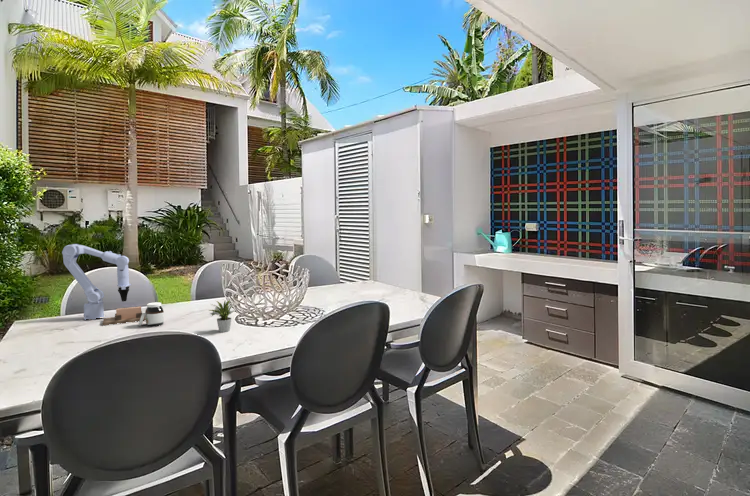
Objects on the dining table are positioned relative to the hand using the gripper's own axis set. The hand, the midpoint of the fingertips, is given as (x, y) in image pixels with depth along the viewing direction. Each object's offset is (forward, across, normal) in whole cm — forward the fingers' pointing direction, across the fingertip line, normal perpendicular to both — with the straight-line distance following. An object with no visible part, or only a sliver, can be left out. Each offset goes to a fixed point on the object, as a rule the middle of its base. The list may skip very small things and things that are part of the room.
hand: (124, 300), depth 245 cm
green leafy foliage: (+10, -8, -59) cm, 60 cm away
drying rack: (+9, -13, -2) cm, 16 cm away
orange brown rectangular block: (+8, -13, -2) cm, 15 cm away
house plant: (+10, -61, -44) cm, 76 cm away
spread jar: (+10, -31, -12) cm, 35 cm away
